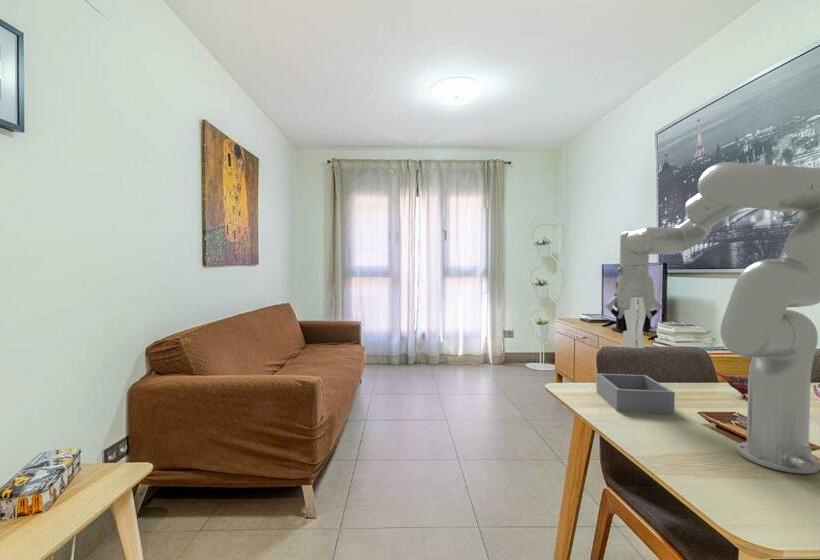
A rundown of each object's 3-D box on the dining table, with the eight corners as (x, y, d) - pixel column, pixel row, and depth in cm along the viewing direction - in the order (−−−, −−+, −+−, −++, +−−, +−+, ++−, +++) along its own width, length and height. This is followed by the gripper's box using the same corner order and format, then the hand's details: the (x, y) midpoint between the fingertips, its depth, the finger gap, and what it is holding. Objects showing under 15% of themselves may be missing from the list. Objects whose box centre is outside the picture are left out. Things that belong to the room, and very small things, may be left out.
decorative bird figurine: (768, 407, 115) (769, 373, 115) (709, 389, 133) (710, 359, 132) (775, 406, 116) (776, 372, 116) (716, 389, 133) (717, 359, 133)
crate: (674, 413, 110) (674, 392, 110) (616, 410, 113) (616, 389, 112) (645, 393, 128) (646, 375, 128) (596, 391, 130) (596, 373, 130)
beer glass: (639, 344, 123) (639, 295, 123) (650, 348, 116) (651, 297, 116) (615, 343, 124) (616, 295, 124) (625, 348, 117) (626, 297, 117)
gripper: (607, 272, 117) (606, 332, 118) (671, 272, 115) (670, 334, 115) (599, 271, 124) (598, 329, 125) (659, 272, 122) (658, 330, 122)
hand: (633, 331), depth 120 cm, fingers closed on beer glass, 6 cm apart
